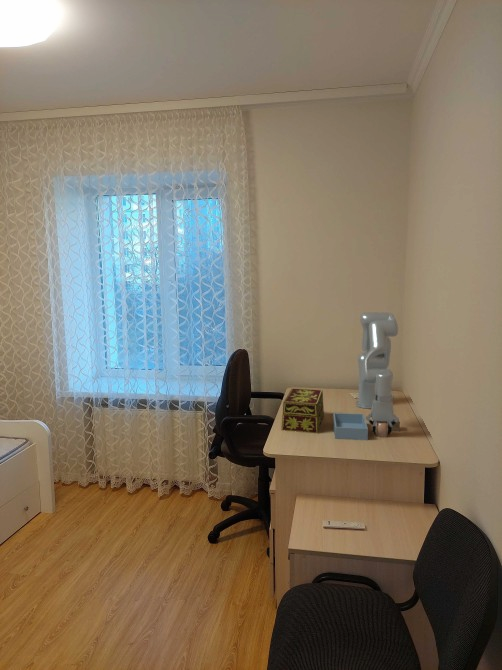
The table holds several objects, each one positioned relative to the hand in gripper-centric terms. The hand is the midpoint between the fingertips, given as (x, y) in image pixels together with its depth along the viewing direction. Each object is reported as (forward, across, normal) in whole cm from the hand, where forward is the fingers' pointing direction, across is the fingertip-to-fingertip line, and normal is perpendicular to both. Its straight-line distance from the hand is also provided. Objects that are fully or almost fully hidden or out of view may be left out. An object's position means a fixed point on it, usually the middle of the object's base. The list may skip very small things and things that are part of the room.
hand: (381, 433), depth 221 cm
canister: (+1, 0, 0) cm, 1 cm away
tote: (+1, +15, -4) cm, 16 cm away
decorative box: (+2, +38, -14) cm, 41 cm away
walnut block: (+1, -7, -9) cm, 11 cm away
